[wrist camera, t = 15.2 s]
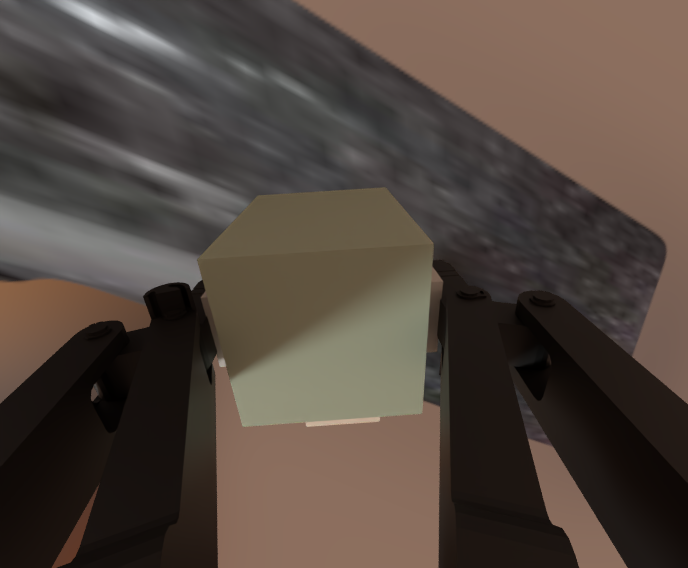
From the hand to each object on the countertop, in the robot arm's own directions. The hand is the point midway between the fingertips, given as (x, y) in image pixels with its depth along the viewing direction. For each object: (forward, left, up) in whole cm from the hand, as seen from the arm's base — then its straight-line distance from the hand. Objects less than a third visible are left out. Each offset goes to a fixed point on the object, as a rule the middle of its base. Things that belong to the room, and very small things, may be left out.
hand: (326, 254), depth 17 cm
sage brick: (0, 0, 0) cm, 0 cm away
